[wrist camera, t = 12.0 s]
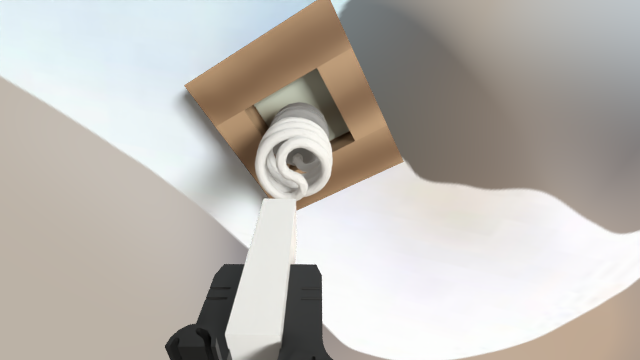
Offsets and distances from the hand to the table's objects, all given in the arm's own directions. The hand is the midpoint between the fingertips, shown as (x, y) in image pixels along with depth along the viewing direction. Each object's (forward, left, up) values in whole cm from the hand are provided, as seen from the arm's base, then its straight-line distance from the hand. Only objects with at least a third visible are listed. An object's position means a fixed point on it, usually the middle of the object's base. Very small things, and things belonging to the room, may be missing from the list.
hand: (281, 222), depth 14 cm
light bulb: (+1, 0, -18) cm, 18 cm away
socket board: (0, 0, -19) cm, 19 cm away
